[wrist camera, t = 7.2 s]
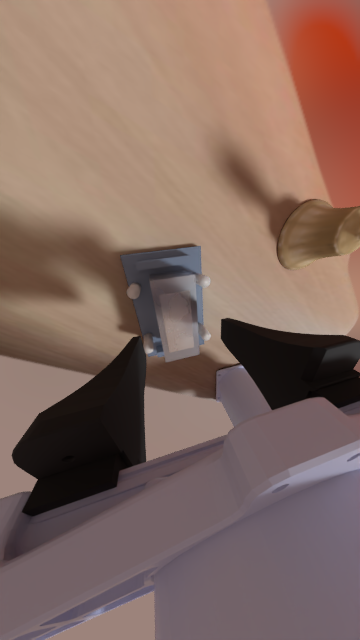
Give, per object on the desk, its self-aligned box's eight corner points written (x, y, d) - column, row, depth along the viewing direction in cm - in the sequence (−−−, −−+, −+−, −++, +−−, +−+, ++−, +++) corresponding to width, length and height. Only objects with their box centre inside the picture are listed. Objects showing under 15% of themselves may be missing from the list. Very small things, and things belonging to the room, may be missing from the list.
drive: (188, 333, 20) (199, 354, 15) (161, 338, 19) (165, 362, 15) (182, 270, 16) (195, 274, 11) (149, 274, 15) (149, 281, 11)
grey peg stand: (202, 341, 22) (212, 356, 19) (148, 353, 21) (148, 371, 17) (198, 246, 16) (211, 243, 13) (121, 255, 15) (113, 254, 11)
